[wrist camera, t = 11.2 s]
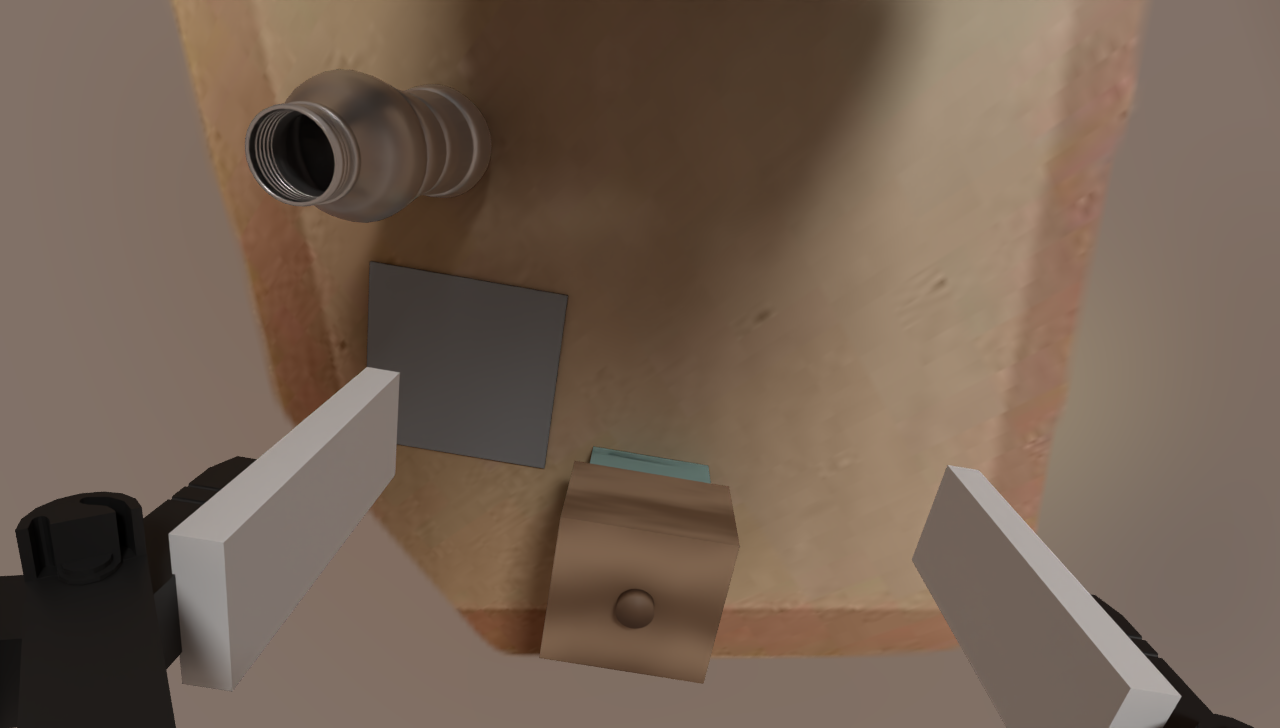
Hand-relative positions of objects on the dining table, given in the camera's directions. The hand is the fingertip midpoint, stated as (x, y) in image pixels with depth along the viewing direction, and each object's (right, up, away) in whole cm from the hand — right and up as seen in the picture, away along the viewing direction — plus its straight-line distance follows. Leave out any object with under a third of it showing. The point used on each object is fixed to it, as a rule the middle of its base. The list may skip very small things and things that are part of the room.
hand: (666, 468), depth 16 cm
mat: (-14, +2, +34) cm, 36 cm away
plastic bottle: (-13, +17, +28) cm, 35 cm away
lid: (-1, -10, +33) cm, 34 cm away
